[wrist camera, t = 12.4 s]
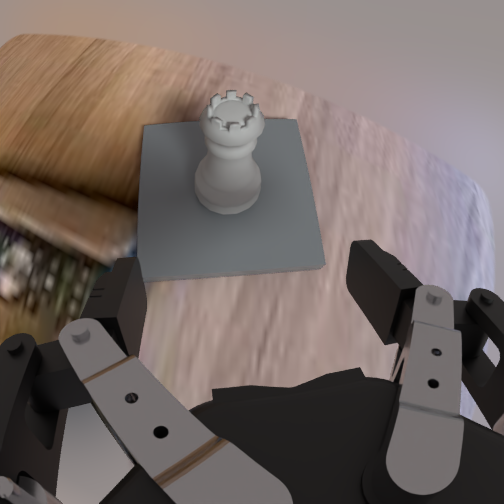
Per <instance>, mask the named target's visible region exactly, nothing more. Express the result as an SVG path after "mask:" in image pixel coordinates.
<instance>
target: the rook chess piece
mask: <svg viewBox="0 0 504 504" xmlns="http://www.w3.org/2000/svg"><path fill="white" fill-rule="evenodd" d="M253 98H254V97H253V96H251V95H249V94H248V93H245V94H244V95H243V98H241V97H237V96H236V90H226V97H223V98H221V96H220V95H219V94H218V93H217V94H216V95H214V96H213V97H212V98H210V105H207V107H206V108H204V110H203V112H202V114H201V115H200V117H199V118H200V128H201V130H202V131H203V133H204V135H205V145H206V147H207V148H208V152H207V155H206V156H205V157H204V159H202V160H201V161H200V164H199V166H198V168H197V170H196V173H195V193H196V195H197V197H198V199H199V201H200V203H201V204H203V205H204V206H205V207H206V208H208V209H209V210H210V211H213V212H216V213H220V214H223V215H225V214H238V213H240V212H242V211H244V210H246V209H249V208H250V207H251V206H252V205H253V204H254V202H255V201H256V200H257V199H258V196H259V193H260V190H261V182H262V181H261V174H260V169H259V167H258V165H257V164H256V162H255V161H254V159H253V158H252V151H253V150H254V149H255V146H256V144H257V137H258V136H260V135H261V134H262V132H263V129H264V126H265V121H264V115H263V114H262V112H261V111H260V109H259V104H253Z"/></svg>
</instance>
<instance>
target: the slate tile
mask: <svg viewBox="0 0 504 504" xmlns="http://www.w3.org/2000/svg"><path fill="white" fill-rule="evenodd" d="M264 121H265V126H264V129H263V132H262V134H261V135H260V136H258V137H257V144H256V146H255V149H254V150H253V151H252V158H253V159H254V161H255V162H256V164H257V165H258V167H259V169H260V174H261V181H262V182H261V190H260V193H259V196H258V199H257V200H256V201H255V202H254V204H253V205H252V206H251V207H250V208H249V209H246V210H244V211H242V212H240V213H238V214H225V215H223V214H220V213H216V212H213V211H210V210H209V209H208V208H206V207H205V206H204V205H203V204H201V203H200V201H199V199H198V197H197V195H196V193H195V173H196V170H197V168H198V166H199V164H200V161H201V160H202V159H204V157H205V156H206V155H207V152H208V148H207V147H206V145H205V135H204V133H203V131H202V130H201V128H200V121H190V122H177V123H165V124H155V125H146V126H144V134H143V144H142V155H141V168H140V183H139V202H138V231H137V257H138V259H139V262H140V266H141V272H142V277H143V281H144V282H154V281H170V280H185V279H200V278H215V277H229V276H242V275H255V274H268V273H280V272H292V271H304V270H316V269H321V268H322V267H323V266H324V265H326V263H325V257H324V251H323V245H322V239H321V234H320V228H319V223H318V217H317V212H316V207H315V202H314V197H313V192H312V187H311V182H310V177H309V173H308V168H307V163H306V159H305V154H304V150H303V145H302V141H301V137H300V132H299V128H298V124H297V120H296V119H264Z"/></svg>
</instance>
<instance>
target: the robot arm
mask: <svg viewBox="0 0 504 504" xmlns="http://www.w3.org/2000/svg"><path fill="white" fill-rule="evenodd" d="M346 284H347V288H348V291H349V292H350V294H351V295H352V297H353V298H354V300H355V301H356V303H357V304H358V306H359V307H360V309H361V310H362V311H363V313H364V314H365V316H366V317H367V319H368V320H369V322H370V323H371V325H372V326H373V328H374V329H375V331H376V333H377V334H378V336H379V337H380V339H381V340H382V342H383V343H384V345H388V344H393V343H398V344H399V346H398V349H397V351H396V355H395V359H394V363H393V367H392V371H391V375H390V379H389V380H385V379H380V378H372V377H365V376H364V374H363V372H362V370H361V368H360V367H359V368H354V369H349V370H344V371H339V372H334V373H329V374H325V375H323V376H321V377H318V378H316V379H313V380H311V381H308V382H306V383H303V384H301V385H298V386H296V387H291V388H284V387H267V386H253V385H249V386H240V387H230V388H219V389H212V396H213V400H211V401H208V402H205V403H203V404H200V405H198V406H196V407H194V408H192V409H190V410H189V411H188V410H187V409H186V408H185V407H184V406H183V405H182V404H181V403H180V402H179V401H178V400H177V399H176V398H175V397H174V396H173V395H172V394H171V393H170V392H169V391H168V390H167V389H166V388H165V387H164V386H163V385H162V384H161V383H160V382H159V381H158V380H157V379H156V378H155V377H154V376H153V375H152V373H151V372H150V371H149V370H148V369H147V368H146V367H145V366H144V365H143V364H142V363H141V362H140V360H139V359H138V357H139V351H140V345H141V339H142V333H143V327H144V322H145V316H146V311H147V297H146V291H145V286H144V281H143V277H142V272H141V266H140V262H139V259H138V257H128V258H118V259H117V261H116V263H115V265H114V268H113V270H112V272H105V273H104V274H103V275H102V276H101V277H100V278H99V279H98V280H97V281H96V283H95V285H94V287H93V291H92V292H91V294H90V298H88V301H87V303H86V305H85V307H84V310H83V312H82V314H81V317H80V319H78V320H75V321H73V322H71V323H69V324H68V325H66V326H65V327H64V328H63V329H62V330H61V332H60V334H59V340H56V341H53V342H49V343H45V344H41V345H37V344H36V342H35V340H34V338H33V337H32V336H31V335H29V334H26V333H20V334H16V335H13V336H11V337H9V338H8V339H6V340H5V341H4V342H3V343H2V344H1V345H0V504H63V503H62V502H61V501H60V500H59V499H57V498H56V487H57V478H58V469H59V461H60V454H61V447H62V441H63V435H64V429H65V423H66V418H67V412H68V408H70V407H75V406H79V405H83V404H87V403H91V404H92V406H93V408H94V409H95V411H96V412H97V414H98V415H99V417H100V418H101V420H102V421H103V423H104V424H105V426H106V427H107V429H108V430H109V432H110V433H111V435H112V436H113V437H114V439H115V440H116V442H117V443H118V444H119V446H120V447H121V449H122V450H123V451H124V453H125V454H126V456H127V457H128V458H129V460H130V461H131V462H132V464H133V465H134V467H133V468H132V469H131V470H130V471H129V472H128V474H127V475H126V476H125V477H124V478H123V479H122V480H121V481H120V482H119V483H118V484H117V485H116V486H115V487H114V488H113V489H112V491H110V493H109V494H108V495H107V496H106V497H105V498H104V499H103V500H102V501H101V502H100V503H99V504H504V302H503V301H502V300H501V299H500V298H499V297H498V296H497V295H496V294H495V293H493V292H491V291H489V290H486V289H482V288H476V289H473V290H472V291H471V292H470V295H469V298H468V301H458V300H453V298H452V296H451V295H450V294H449V293H448V292H447V291H446V290H444V289H442V288H440V287H438V286H434V285H423V284H422V283H421V282H420V281H419V280H418V279H417V278H416V277H415V276H414V275H413V274H412V273H411V272H410V271H409V270H407V268H406V267H405V266H404V265H402V264H401V262H400V261H399V260H398V259H397V258H396V257H395V256H393V255H391V254H389V253H387V252H385V251H383V250H382V249H381V248H380V247H379V246H378V245H377V244H376V243H375V242H374V241H373V240H359V241H353V242H352V244H351V247H350V254H349V261H348V268H347V274H346ZM488 337H489V338H490V339H491V340H492V341H493V343H494V344H495V345H496V346H497V348H498V349H499V352H500V361H499V363H498V365H497V367H495V366H494V364H493V363H492V362H491V360H490V359H489V358H488V356H487V355H486V354H485V353H484V351H483V350H482V349H483V347H484V345H485V343H486V341H487V339H488ZM461 380H462V382H463V383H464V385H465V386H466V388H467V389H468V391H469V393H470V394H471V396H472V397H473V399H474V401H475V402H476V404H477V405H478V407H479V409H480V410H481V412H482V414H483V415H484V417H485V419H486V420H487V422H488V424H489V425H490V427H491V429H492V430H491V429H489V428H487V427H485V426H482V425H480V424H478V423H476V422H474V421H472V420H470V419H468V418H466V417H464V416H462V415H460V399H461Z"/></svg>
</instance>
